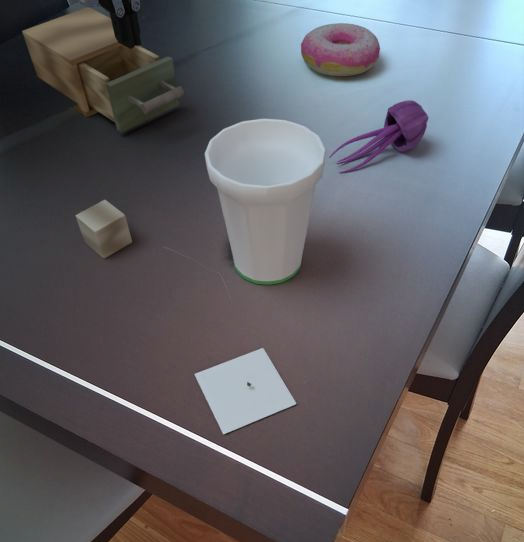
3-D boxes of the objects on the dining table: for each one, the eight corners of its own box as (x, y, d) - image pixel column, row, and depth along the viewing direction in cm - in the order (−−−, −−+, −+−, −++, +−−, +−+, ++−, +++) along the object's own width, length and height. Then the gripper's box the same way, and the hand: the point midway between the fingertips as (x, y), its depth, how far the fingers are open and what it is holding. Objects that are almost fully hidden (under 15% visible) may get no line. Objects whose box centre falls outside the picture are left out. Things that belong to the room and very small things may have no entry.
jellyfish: (323, 133, 78) (415, 82, 79) (321, 159, 85) (406, 111, 86) (349, 171, 77) (442, 118, 78) (344, 194, 83) (430, 145, 84)
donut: (392, 73, 98) (396, 43, 94) (322, 89, 95) (324, 59, 91) (354, 41, 106) (357, 12, 102) (289, 55, 103) (290, 26, 99)
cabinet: (149, 89, 97) (139, 32, 89) (87, 117, 91) (70, 60, 84) (101, 61, 103) (88, 6, 96) (40, 86, 98) (21, 30, 91)
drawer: (199, 116, 89) (193, 69, 84) (140, 145, 85) (130, 98, 79) (130, 76, 98) (121, 31, 92) (73, 101, 93) (60, 55, 87)
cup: (314, 226, 74) (320, 115, 62) (322, 296, 66) (331, 185, 54) (218, 229, 74) (206, 119, 62) (215, 299, 66) (201, 190, 54)
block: (104, 259, 71) (94, 231, 67) (84, 242, 73) (74, 215, 69) (132, 242, 73) (125, 214, 69) (113, 226, 75) (104, 199, 71)
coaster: (194, 374, 60) (193, 369, 59) (263, 347, 61) (262, 343, 61) (223, 434, 55) (222, 430, 54) (296, 403, 57) (296, 399, 56)
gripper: (129, -154, 65) (156, 17, 80) (13, -126, 59) (65, 54, 74) (170, -144, 62) (191, 33, 76) (51, -113, 56) (98, 73, 70)
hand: (129, 43), depth 75 cm, fingers closed
